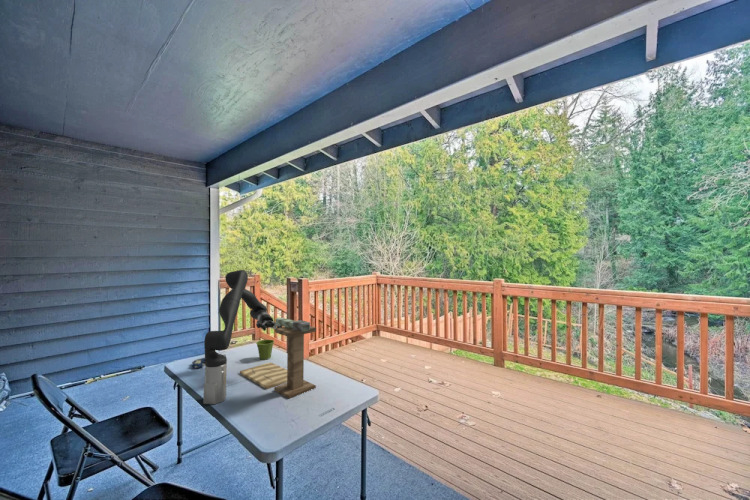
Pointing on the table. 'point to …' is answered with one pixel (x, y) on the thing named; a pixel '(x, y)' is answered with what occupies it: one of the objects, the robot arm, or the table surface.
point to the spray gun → (199, 363)
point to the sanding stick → (294, 324)
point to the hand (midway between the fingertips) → (272, 329)
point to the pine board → (266, 375)
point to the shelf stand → (294, 363)
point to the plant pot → (265, 348)
